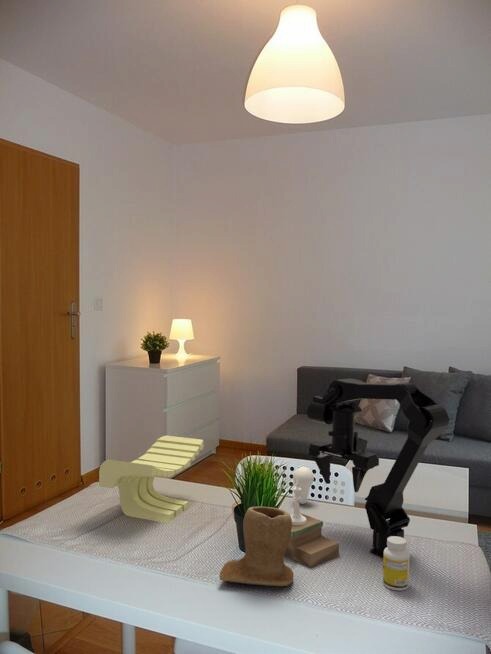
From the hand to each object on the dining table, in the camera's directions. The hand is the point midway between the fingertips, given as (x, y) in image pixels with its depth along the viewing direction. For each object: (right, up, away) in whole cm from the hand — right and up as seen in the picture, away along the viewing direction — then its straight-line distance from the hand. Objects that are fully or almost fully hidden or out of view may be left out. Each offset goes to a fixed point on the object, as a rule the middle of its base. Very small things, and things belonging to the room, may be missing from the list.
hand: (341, 487), depth 148 cm
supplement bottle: (+7, -14, -26) cm, 30 cm away
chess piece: (-12, -6, -9) cm, 17 cm away
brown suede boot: (-22, -13, -24) cm, 35 cm away
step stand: (-11, -12, -11) cm, 20 cm away
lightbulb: (-8, -11, +22) cm, 26 cm away
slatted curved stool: (-51, -11, +14) cm, 54 cm away
